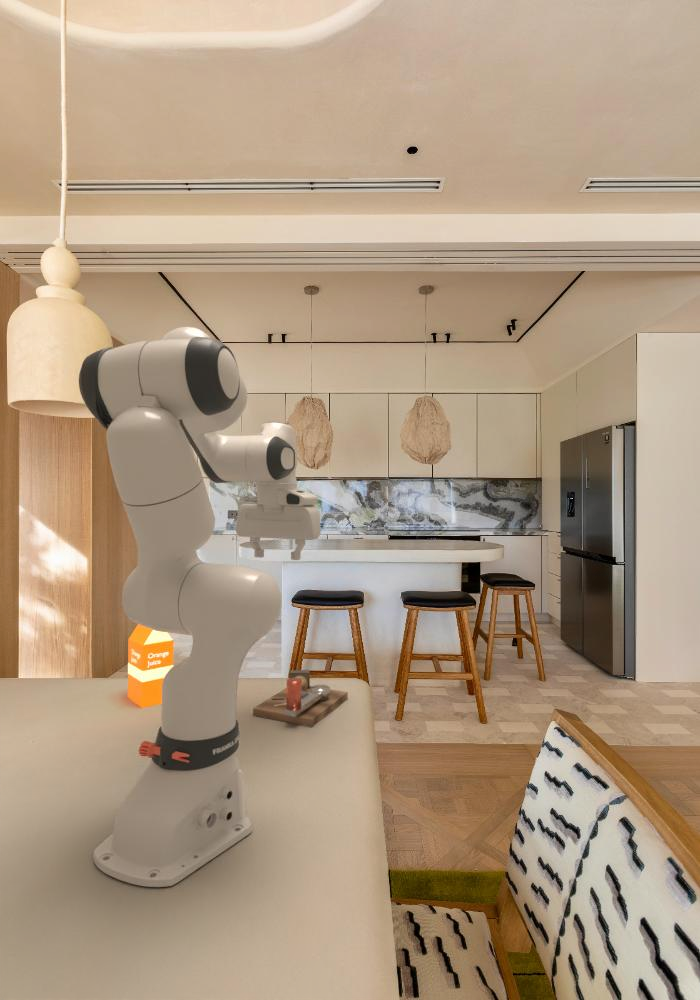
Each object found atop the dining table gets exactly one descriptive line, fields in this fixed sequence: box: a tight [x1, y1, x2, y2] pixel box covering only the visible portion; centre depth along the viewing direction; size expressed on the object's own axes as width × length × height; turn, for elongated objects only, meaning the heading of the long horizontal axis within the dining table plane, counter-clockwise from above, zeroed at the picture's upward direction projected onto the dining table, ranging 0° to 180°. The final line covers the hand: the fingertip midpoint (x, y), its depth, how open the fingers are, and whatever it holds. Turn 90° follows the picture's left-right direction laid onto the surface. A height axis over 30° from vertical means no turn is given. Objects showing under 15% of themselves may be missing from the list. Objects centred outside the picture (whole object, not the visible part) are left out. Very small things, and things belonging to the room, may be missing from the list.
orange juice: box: [127, 624, 175, 709], centre depth 135 cm, size 8×9×20 cm
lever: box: [285, 677, 331, 717], centre depth 127 cm, size 17×5×8 cm, turn 157°
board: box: [252, 669, 349, 728], centre depth 132 cm, size 19×15×6 cm
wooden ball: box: [295, 676, 308, 691], centre depth 138 cm, size 4×4×4 cm
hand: (277, 558), depth 125 cm, fingers open, 8 cm apart
